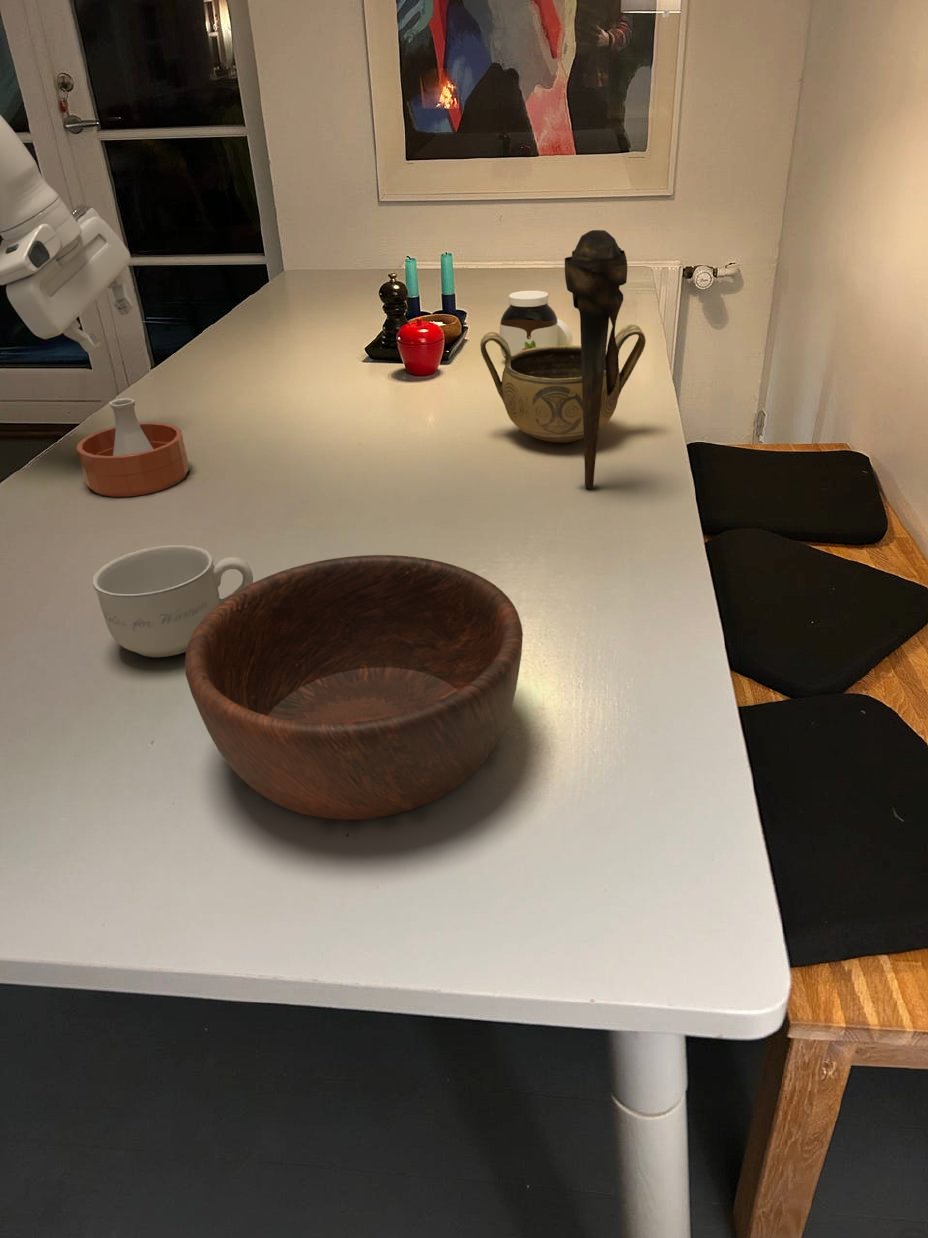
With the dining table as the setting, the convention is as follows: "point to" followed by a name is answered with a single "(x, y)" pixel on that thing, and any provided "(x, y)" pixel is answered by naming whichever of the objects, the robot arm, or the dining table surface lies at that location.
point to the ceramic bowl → (554, 386)
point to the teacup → (162, 596)
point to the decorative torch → (596, 325)
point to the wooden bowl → (357, 682)
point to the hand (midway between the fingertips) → (111, 329)
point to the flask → (128, 429)
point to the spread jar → (532, 323)
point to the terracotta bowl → (134, 462)
